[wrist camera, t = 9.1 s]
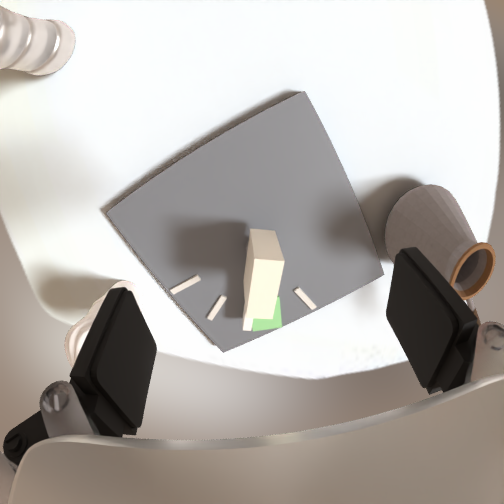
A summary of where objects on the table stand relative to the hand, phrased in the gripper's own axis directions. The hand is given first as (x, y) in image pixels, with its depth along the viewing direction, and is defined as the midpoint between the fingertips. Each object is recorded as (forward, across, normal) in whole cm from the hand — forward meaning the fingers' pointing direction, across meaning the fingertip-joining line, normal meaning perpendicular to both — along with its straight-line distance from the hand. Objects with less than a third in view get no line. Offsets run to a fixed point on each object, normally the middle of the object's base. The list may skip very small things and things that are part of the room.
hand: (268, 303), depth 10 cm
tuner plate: (+22, 0, +9) cm, 24 cm away
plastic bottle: (+23, +19, -18) cm, 35 cm away
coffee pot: (+22, -22, +14) cm, 35 cm away
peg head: (+20, +1, +13) cm, 24 cm away
